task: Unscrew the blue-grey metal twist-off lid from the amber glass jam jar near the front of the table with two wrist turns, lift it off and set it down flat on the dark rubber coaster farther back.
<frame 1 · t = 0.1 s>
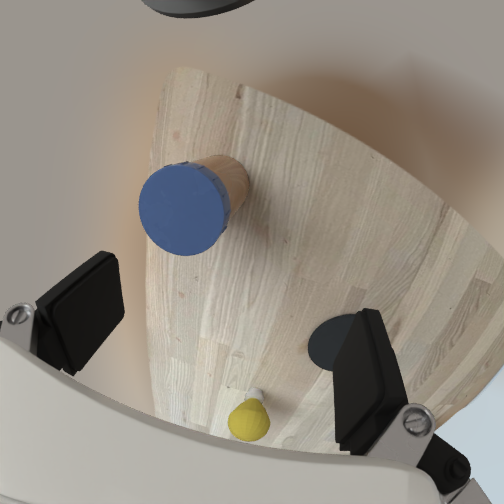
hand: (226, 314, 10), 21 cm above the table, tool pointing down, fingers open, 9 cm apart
coaster: (346, 344, 35), on the table
jar: (219, 184, 29), on the table
light bulb: (255, 390, 43), on the table
lid: (180, 210, 20), point 11 cm above the table, screwed on, not yet turned
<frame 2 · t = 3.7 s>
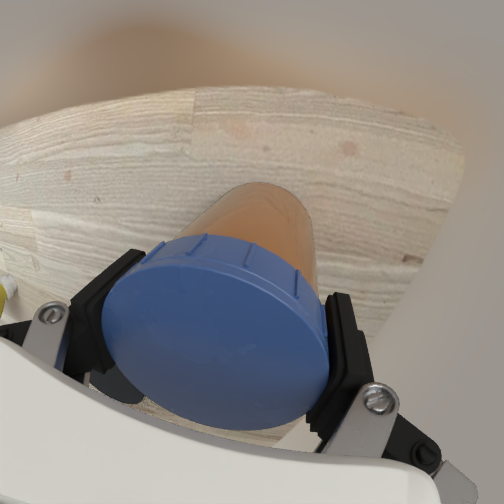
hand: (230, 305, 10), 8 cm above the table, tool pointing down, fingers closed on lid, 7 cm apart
coaster: (106, 373, 28), on the table
jar: (259, 234, 17), on the table
light bulb: (13, 281, 26), on the table
lid: (207, 363, 7), point 11 cm above the table, screwed on, not yet turned, touching gripper
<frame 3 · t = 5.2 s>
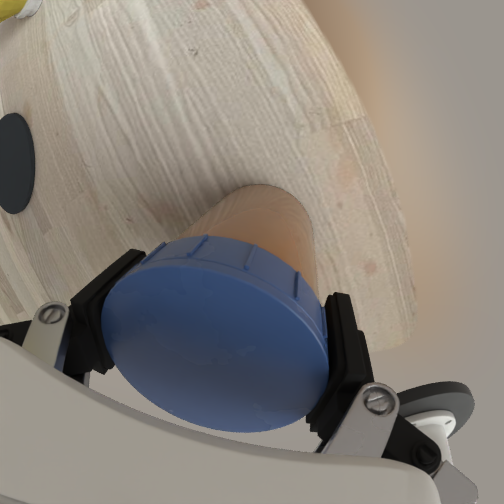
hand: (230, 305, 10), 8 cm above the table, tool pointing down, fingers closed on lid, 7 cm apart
coaster: (10, 163, 18), on the table
jar: (260, 236, 17), on the table
light bulb: (36, 7, 11), on the table
lid: (207, 365, 7), point 11 cm above the table, turned 61° so far, risen 0.2 cm, still on its thread, touching gripper
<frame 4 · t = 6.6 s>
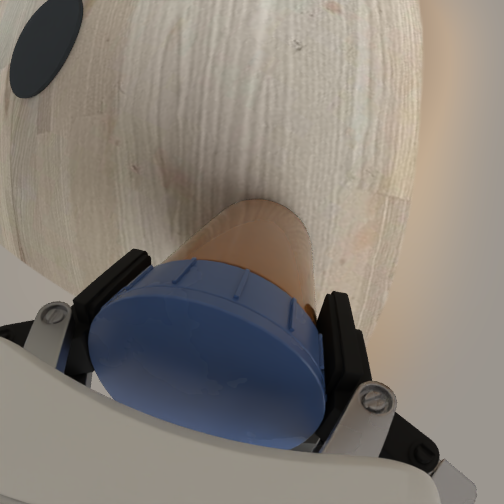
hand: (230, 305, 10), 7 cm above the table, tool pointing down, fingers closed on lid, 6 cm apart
coaster: (42, 43, 12), on the table
jar: (257, 252, 17), on the table, touching gripper
lid: (198, 393, 7), point 11 cm above the table, turned 90° so far, risen 0.2 cm, still on its thread, touching gripper
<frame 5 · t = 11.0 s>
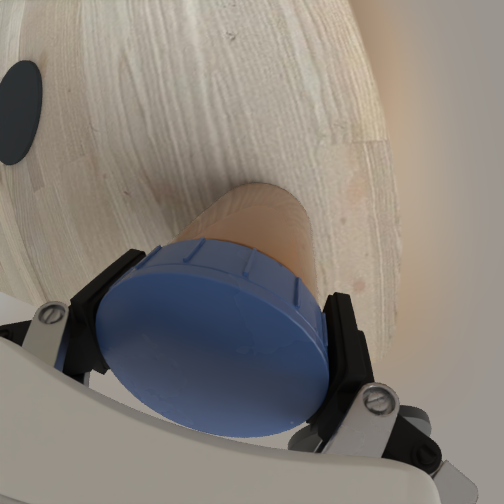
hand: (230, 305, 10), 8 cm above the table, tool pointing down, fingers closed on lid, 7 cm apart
coaster: (14, 112, 16), on the table
jar: (258, 234, 17), on the table
lid: (204, 371, 7), point 11 cm above the table, off its thread, touching gripper
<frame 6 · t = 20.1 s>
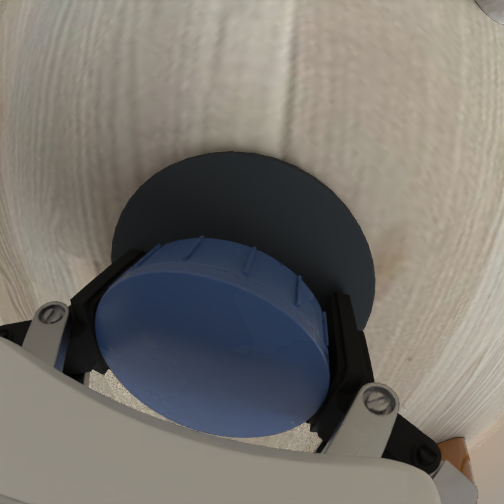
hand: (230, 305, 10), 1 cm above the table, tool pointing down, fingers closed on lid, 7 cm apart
coaster: (233, 293, 11), on the table
jar: (436, 453, 16), on the table
light bulb: (488, 3, 3), on the table
lid: (204, 371, 7), point 4 cm above the table, off its thread, touching gripper
when the fingers open (2 cm above the table, at t = 29.6 s): lid drops 3 cm, resting on coaster.
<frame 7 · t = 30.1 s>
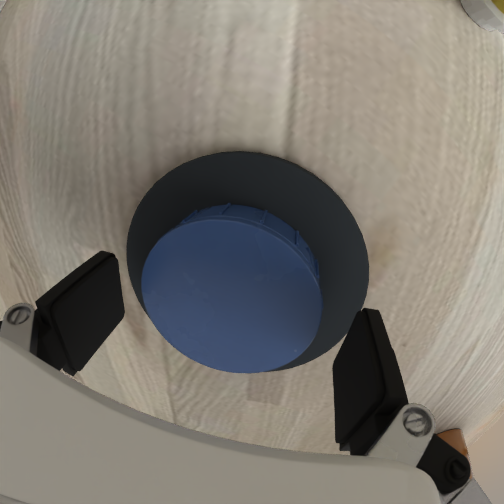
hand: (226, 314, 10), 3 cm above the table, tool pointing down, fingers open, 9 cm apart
coaster: (240, 279, 12), on the table
jar: (434, 445, 17), on the table
light bulb: (477, 11, 4), on the table
lid: (227, 305, 10), point 2 cm above the table, off its thread, touching coaster
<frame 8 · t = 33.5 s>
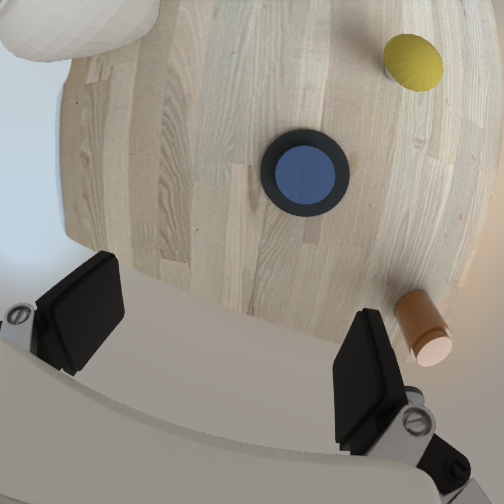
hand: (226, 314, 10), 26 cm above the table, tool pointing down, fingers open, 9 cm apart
coaster: (305, 173, 32), on the table
jar: (413, 307, 37), on the table
vase: (137, 22, 26), on the table
light bulb: (393, 73, 25), on the table
lid: (305, 174, 30), point 2 cm above the table, off its thread, touching coaster
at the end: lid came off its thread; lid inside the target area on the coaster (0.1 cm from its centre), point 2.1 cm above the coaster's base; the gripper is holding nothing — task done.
